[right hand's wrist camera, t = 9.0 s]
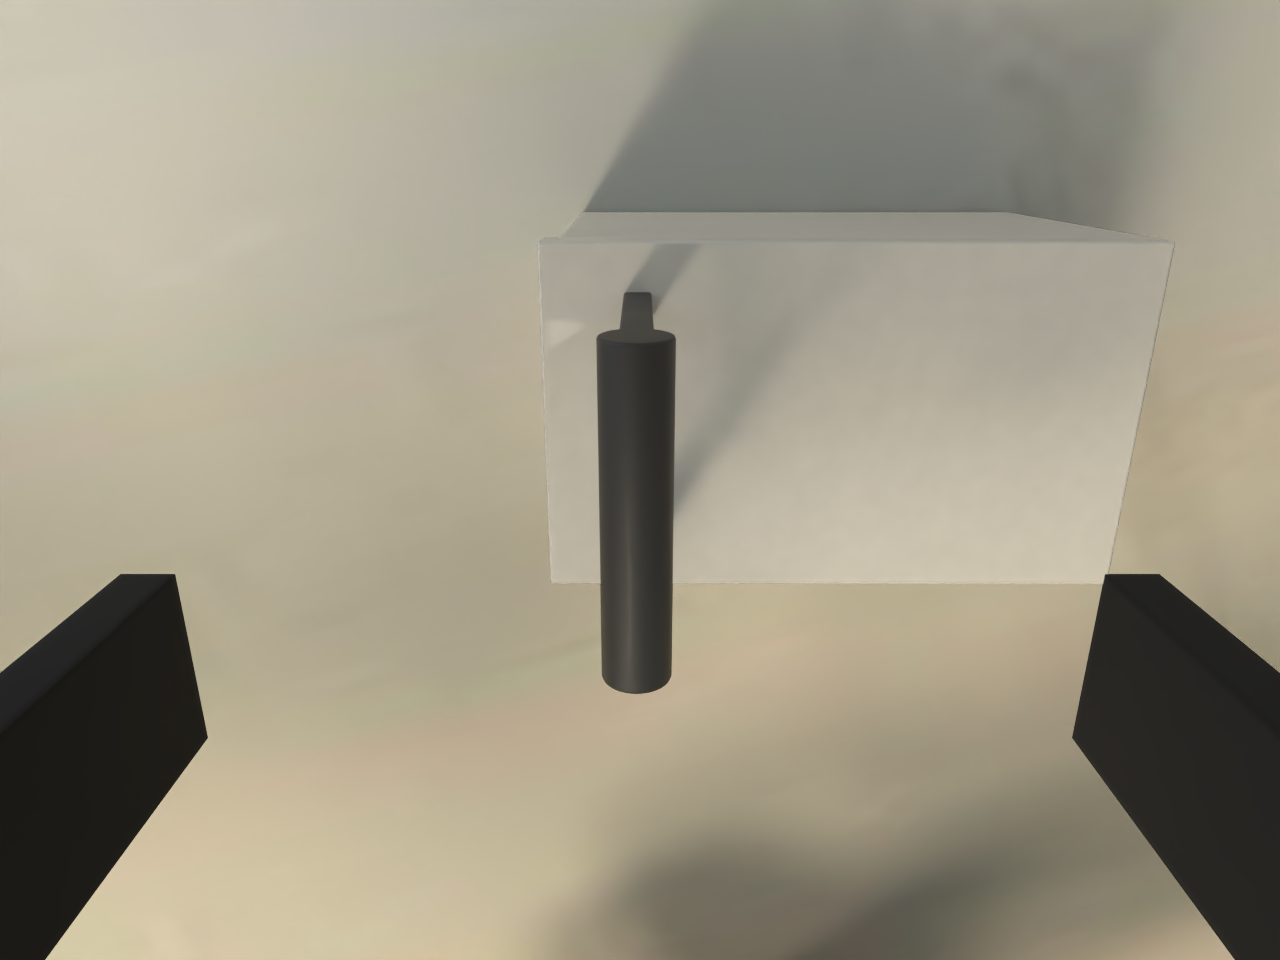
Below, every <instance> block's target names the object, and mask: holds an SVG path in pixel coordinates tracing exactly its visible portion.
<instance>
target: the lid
mask: <svg viewBox="0 0 1280 960" xmlns="http://www.w3.org/2000/svg"><path fill="white" fill-rule="evenodd" d="M537 246H538V272H539V298H540V324H541V350H542V376H543V402H544V427H545V453H546V479H547V505H548V531H549V557H550V581H551V583H553V584H600V585H601V644H602V677H603V679H604V681H605V682H606V684H607V685H609V686H610V687H611V688H613V689H615V690H618V691H621V692H625V693H632V694H642V693H648V692H652V691H655V690H658V689H660V688H662V687H663V686H665V685H666V684H667V683H668V681H669V680H670V678H671V665H672V594H673V584H1103V581H1104V576H1105V574H1108V573H1109V568H1110V564H1111V559H1112V554H1113V549H1114V544H1115V539H1116V534H1117V529H1118V524H1119V519H1120V514H1121V509H1122V504H1123V499H1124V494H1125V489H1126V484H1127V479H1128V474H1129V469H1130V464H1131V459H1132V454H1133V449H1134V444H1135V439H1136V434H1137V430H1138V425H1139V420H1140V415H1141V410H1142V405H1143V400H1144V395H1145V390H1146V385H1147V380H1148V375H1149V370H1150V365H1151V360H1152V355H1153V350H1154V345H1155V340H1156V335H1157V330H1158V325H1159V320H1160V315H1161V310H1162V305H1163V301H1164V296H1165V291H1166V286H1167V281H1168V276H1169V271H1170V266H1171V261H1172V256H1173V251H1174V246H1175V243H1174V242H1173V241H1169V240H1163V239H1157V238H1152V237H544V238H542V239H541V240H540V241H539V242H538V244H537Z"/></svg>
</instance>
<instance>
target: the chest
mask: <svg viewBox="0 0 1280 960" xmlns="http://www.w3.org/2000/svg"><path fill="white" fill-rule="evenodd" d="M561 237H1147V236H1141V235H1135V234H1130V233H1124V232H1118V231H1112V230H1107V229H1101V228H1095V227H1090V226H1084V225H1078V224H1072V223H1067V222H1061V221H1055V220H1049V219H1044V218H1038V217H1032V216H1026V215H1021V214H1014V213H1009V212H583V213H582V214H581V215H580V216H579V217H578V218H577V219H576V220H575V222H574V223H573V224H572V225H571V226H570V227H569V228H568V229H567V230H566V231H565V232H564V234H563V235H562V236H561Z"/></svg>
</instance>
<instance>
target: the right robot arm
mask: <svg viewBox="0 0 1280 960" xmlns="http://www.w3.org/2000/svg"><path fill="white" fill-rule="evenodd" d="M207 738H208V736H207V731H206V726H205V721H204V716H203V711H202V706H201V701H200V696H199V691H198V686H197V681H196V676H195V671H194V666H193V661H192V656H191V651H190V646H189V641H188V636H187V631H186V626H185V621H184V616H183V611H182V606H181V601H180V596H179V591H178V586H177V581H176V576H175V574H120V575H119V576H118V577H117V578H116V579H114V580H113V581H112V582H111V583H109V584H108V585H107V586H106V587H105V588H103V589H102V590H101V591H100V592H98V593H97V594H96V595H95V596H94V597H92V598H91V599H90V600H89V601H87V602H86V603H85V604H84V605H83V606H81V607H80V608H79V609H78V610H77V611H75V612H74V613H73V614H72V615H70V616H69V617H68V618H67V619H66V620H64V621H63V622H62V623H61V624H59V625H58V626H57V627H56V628H55V629H53V630H52V631H51V632H50V633H48V634H47V635H46V636H45V637H44V638H42V639H41V640H40V641H39V642H37V643H36V644H35V645H34V646H33V647H31V648H30V649H29V650H28V651H27V652H25V653H24V654H23V655H22V656H20V657H19V658H18V659H17V660H16V661H14V662H13V663H12V664H11V665H9V666H8V667H7V668H6V669H5V670H3V671H2V672H1V673H0V960H45V959H46V958H47V956H48V955H49V954H50V952H51V951H52V950H53V948H54V947H55V946H56V944H57V943H58V941H59V940H60V939H61V937H62V936H63V935H64V933H65V932H66V931H67V929H68V928H69V926H70V925H71V924H72V922H73V921H74V920H75V918H76V917H77V916H78V914H79V913H80V911H81V910H82V909H83V907H84V906H85V905H86V903H87V902H88V901H89V899H90V898H91V896H92V895H93V894H94V892H95V891H96V890H97V888H98V887H99V886H100V884H101V883H102V881H103V880H104V879H105V877H106V876H107V875H108V873H109V872H110V871H111V869H112V868H113V866H114V865H115V864H116V862H117V861H118V860H119V858H120V857H121V856H122V854H123V853H124V851H125V850H126V849H127V847H128V846H129V845H130V843H131V842H132V841H133V839H134V838H135V836H136V835H137V834H138V832H139V831H140V830H141V828H142V827H143V826H144V824H145V823H146V821H147V820H148V819H149V817H150V816H151V815H152V813H153V812H154V811H155V809H156V808H157V806H158V805H159V804H160V802H161V801H162V800H163V798H164V797H165V796H166V794H167V793H168V791H169V790H170V789H171V787H172V786H173V785H174V783H175V782H176V780H177V779H178V778H179V776H180V775H181V774H182V772H183V771H184V770H185V768H186V767H187V765H188V764H189V763H190V761H191V760H192V759H193V757H194V756H195V755H196V753H197V752H198V750H199V749H200V748H201V746H202V745H203V744H204V742H205V741H206V740H207ZM1072 738H1073V740H1074V741H1075V742H1076V744H1077V745H1078V746H1079V748H1080V749H1081V750H1082V752H1083V753H1084V755H1085V756H1086V757H1087V759H1088V760H1089V761H1090V763H1091V764H1092V765H1093V767H1094V768H1095V770H1096V771H1097V772H1098V774H1099V775H1100V776H1101V778H1102V779H1103V781H1104V782H1105V783H1106V785H1107V786H1108V787H1109V789H1110V790H1111V791H1112V793H1113V794H1114V796H1115V797H1116V798H1117V800H1118V801H1119V802H1120V804H1121V805H1122V806H1123V808H1124V809H1125V811H1126V812H1127V813H1128V815H1129V816H1130V817H1131V819H1132V820H1133V821H1134V823H1135V824H1136V826H1137V827H1138V828H1139V830H1140V831H1141V832H1142V834H1143V835H1144V836H1145V838H1146V839H1147V841H1148V842H1149V843H1150V845H1151V846H1152V847H1153V849H1154V850H1155V851H1156V853H1157V854H1158V856H1159V857H1160V858H1161V860H1162V861H1163V862H1164V864H1165V865H1166V866H1167V868H1168V869H1169V871H1170V872H1171V873H1172V875H1173V876H1174V877H1175V879H1176V880H1177V881H1178V883H1179V884H1180V886H1181V887H1182V888H1183V890H1184V891H1185V892H1186V894H1187V895H1188V896H1189V898H1190V899H1191V901H1192V902H1193V903H1194V905H1195V906H1196V907H1197V909H1198V910H1199V911H1200V913H1201V914H1202V916H1203V917H1204V918H1205V920H1206V921H1207V922H1208V924H1209V925H1210V926H1211V928H1212V929H1213V931H1214V932H1215V933H1216V935H1217V936H1218V937H1219V939H1220V940H1221V941H1222V943H1223V944H1224V946H1225V947H1226V948H1227V950H1228V951H1229V952H1230V954H1231V955H1232V956H1233V958H1234V959H1235V960H1280V673H1279V672H1278V671H1277V670H1275V669H1274V668H1273V667H1272V666H1271V665H1269V664H1268V663H1267V662H1266V661H1264V660H1263V659H1262V658H1261V657H1260V656H1258V655H1257V654H1256V653H1255V652H1253V651H1252V650H1251V649H1250V648H1249V647H1247V646H1246V645H1245V644H1244V643H1243V642H1241V641H1240V640H1239V639H1238V638H1236V637H1235V636H1234V635H1233V634H1232V633H1230V632H1229V631H1228V630H1227V629H1225V628H1224V627H1223V626H1222V625H1221V624H1219V623H1218V622H1217V621H1216V620H1214V619H1213V618H1212V617H1211V616H1210V615H1208V614H1207V613H1206V612H1205V611H1203V610H1202V609H1201V608H1200V607H1199V606H1197V605H1196V604H1195V603H1194V602H1193V601H1191V600H1190V599H1189V598H1188V597H1186V596H1185V595H1184V594H1183V593H1182V592H1180V591H1179V590H1178V589H1177V588H1175V587H1174V586H1173V585H1172V584H1171V583H1169V582H1168V581H1167V580H1166V579H1164V578H1163V577H1162V576H1161V575H1160V574H1105V576H1104V581H1103V586H1102V591H1101V596H1100V601H1099V606H1098V611H1097V616H1096V621H1095V626H1094V631H1093V636H1092V641H1091V646H1090V651H1089V656H1088V661H1087V666H1086V671H1085V676H1084V681H1083V686H1082V691H1081V696H1080V701H1079V706H1078V711H1077V716H1076V721H1075V726H1074V731H1073V736H1072Z"/></svg>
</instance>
